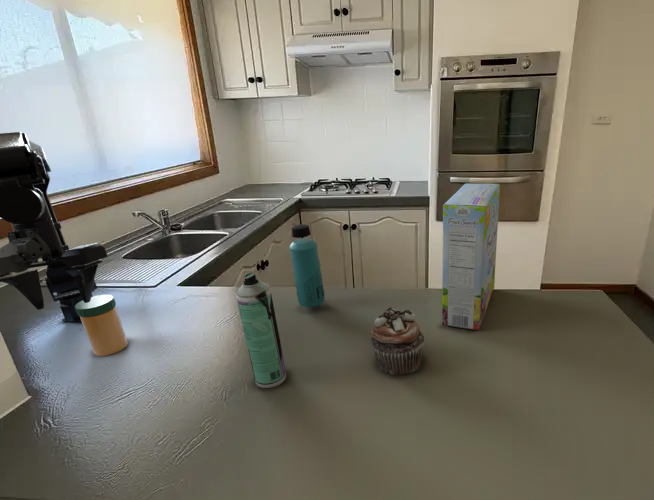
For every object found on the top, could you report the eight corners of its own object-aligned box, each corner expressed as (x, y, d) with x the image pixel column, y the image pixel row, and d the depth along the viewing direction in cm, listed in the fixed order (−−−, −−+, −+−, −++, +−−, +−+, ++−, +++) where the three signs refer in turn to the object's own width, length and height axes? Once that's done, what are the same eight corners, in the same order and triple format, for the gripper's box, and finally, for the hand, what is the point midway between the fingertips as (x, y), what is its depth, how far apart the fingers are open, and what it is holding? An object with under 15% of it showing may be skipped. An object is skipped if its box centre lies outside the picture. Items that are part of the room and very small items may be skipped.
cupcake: (364, 373, 74) (359, 324, 70) (382, 345, 83) (379, 299, 79) (417, 382, 71) (415, 330, 67) (430, 351, 79) (429, 303, 75)
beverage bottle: (321, 313, 97) (309, 229, 89) (294, 312, 99) (280, 230, 91) (329, 301, 103) (319, 221, 95) (304, 300, 104) (291, 222, 97)
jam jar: (110, 339, 93) (94, 296, 89) (134, 340, 92) (120, 297, 88) (86, 355, 88) (68, 310, 84) (112, 356, 86) (95, 311, 82)
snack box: (483, 332, 84) (487, 205, 74) (440, 327, 87) (438, 204, 77) (497, 288, 102) (501, 181, 92) (461, 285, 106) (461, 181, 96)
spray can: (292, 371, 77) (273, 269, 69) (276, 390, 72) (254, 282, 64) (266, 367, 78) (245, 267, 71) (249, 385, 74) (224, 280, 66)
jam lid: (96, 301, 90) (93, 294, 90) (123, 302, 89) (121, 294, 88) (69, 316, 84) (66, 308, 83) (98, 317, 83) (95, 309, 82)
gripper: (-65, 238, 66) (-24, 330, 70) (45, 220, 65) (80, 315, 69) (-2, 226, 77) (31, 306, 81) (94, 211, 75) (122, 293, 79)
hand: (64, 305), depth 77 cm, fingers open, 9 cm apart
